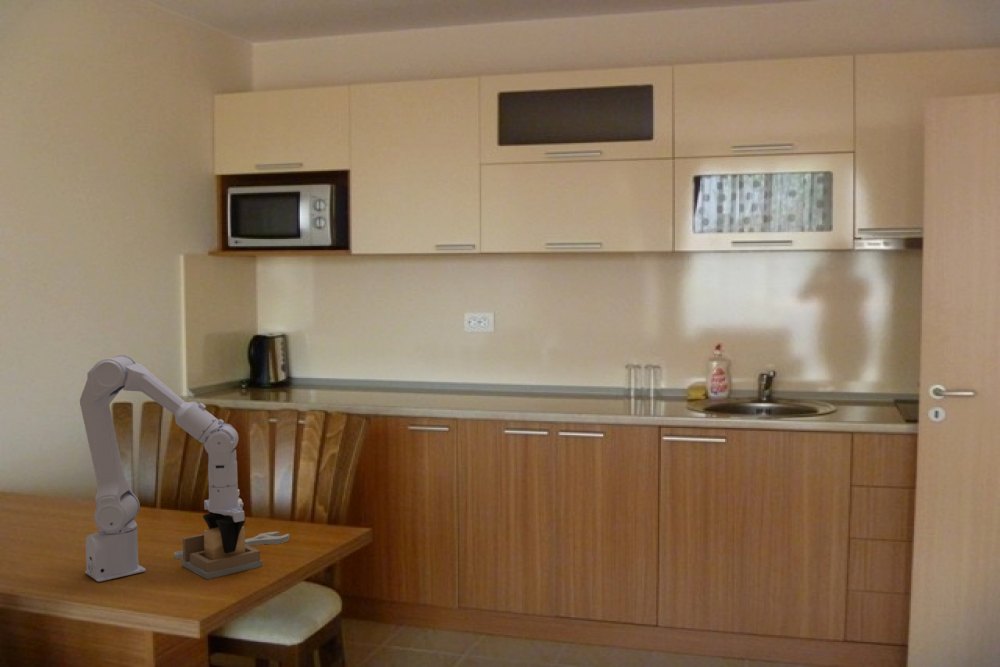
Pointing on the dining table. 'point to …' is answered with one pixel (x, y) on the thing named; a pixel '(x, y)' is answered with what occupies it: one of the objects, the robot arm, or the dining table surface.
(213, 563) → the stand
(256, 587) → the dining table surface
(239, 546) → the light wooden block
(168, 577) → the dining table surface
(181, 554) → the adjustable wrench
